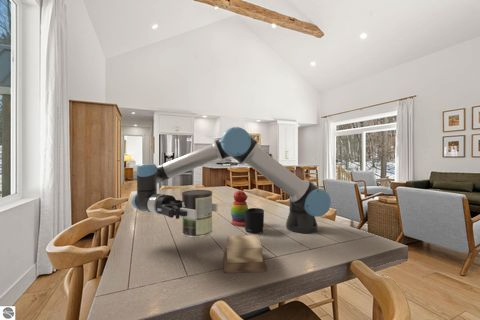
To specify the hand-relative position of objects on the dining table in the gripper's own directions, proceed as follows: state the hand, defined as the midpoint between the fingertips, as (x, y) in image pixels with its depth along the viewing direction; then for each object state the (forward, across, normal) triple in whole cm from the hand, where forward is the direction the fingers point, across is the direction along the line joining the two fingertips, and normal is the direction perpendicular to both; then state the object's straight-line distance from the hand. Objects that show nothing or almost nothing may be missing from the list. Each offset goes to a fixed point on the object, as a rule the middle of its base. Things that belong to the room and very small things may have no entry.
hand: (207, 210), depth 72 cm
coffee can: (-4, 0, -8) cm, 9 cm away
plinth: (+10, -7, -18) cm, 21 cm away
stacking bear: (-14, -43, -18) cm, 49 cm away
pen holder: (-2, -37, -18) cm, 41 cm away
